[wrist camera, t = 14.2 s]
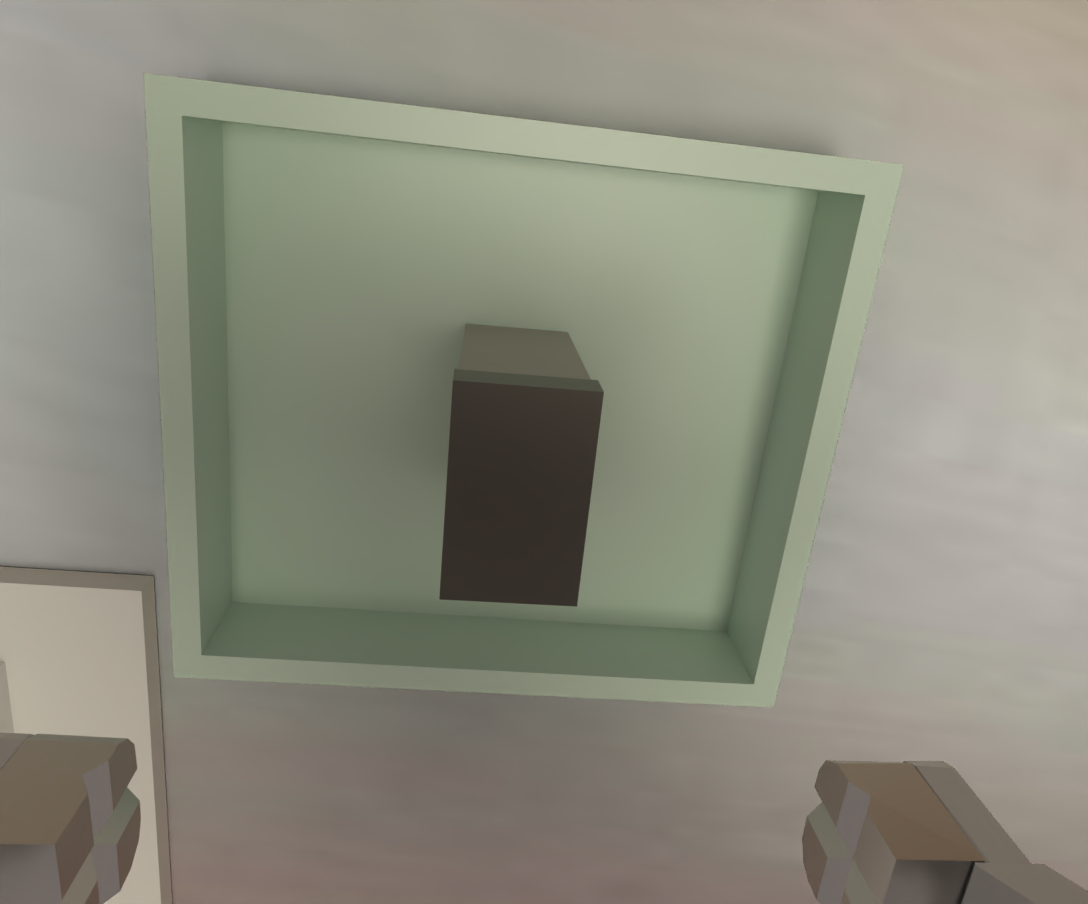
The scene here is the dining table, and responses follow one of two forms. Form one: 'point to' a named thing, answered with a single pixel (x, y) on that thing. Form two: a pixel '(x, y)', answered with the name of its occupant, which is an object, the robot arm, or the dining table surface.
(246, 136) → the parts tray
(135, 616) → the fuse block
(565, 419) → the block
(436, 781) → the dining table surface
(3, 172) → the dining table surface
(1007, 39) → the dining table surface
